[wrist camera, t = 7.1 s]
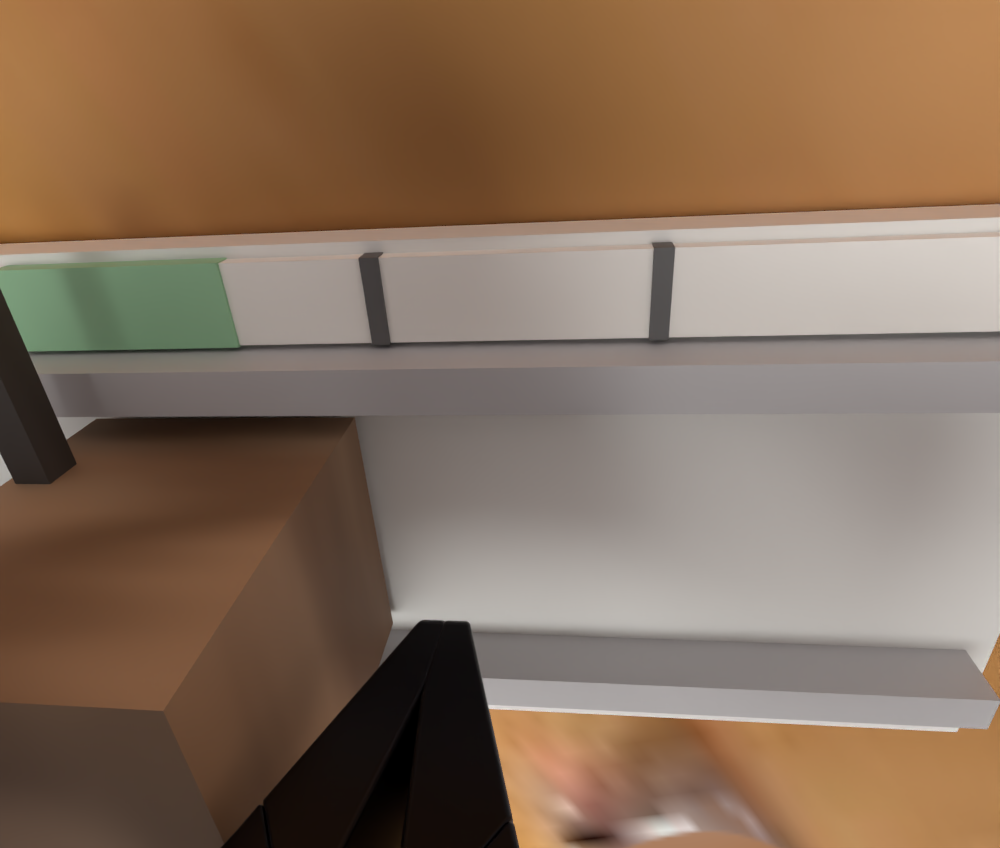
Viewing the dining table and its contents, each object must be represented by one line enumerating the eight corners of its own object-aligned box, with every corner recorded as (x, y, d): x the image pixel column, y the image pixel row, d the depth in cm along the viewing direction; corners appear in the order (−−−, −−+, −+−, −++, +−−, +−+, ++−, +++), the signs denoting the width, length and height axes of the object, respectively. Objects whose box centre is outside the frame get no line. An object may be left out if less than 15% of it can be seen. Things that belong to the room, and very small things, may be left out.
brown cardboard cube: (320, 233, 10) (23, 408, 4) (393, 623, 14) (280, 964, 8) (26, 245, 10) (-541, 412, 5) (176, 616, 14) (-58, 930, 9)
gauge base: (1127, 198, 10) (1807, 338, 4) (933, 693, 15) (1136, 1032, 9) (-190, 251, 12) (-764, 377, 7) (38, 654, 17) (-194, 902, 12)
